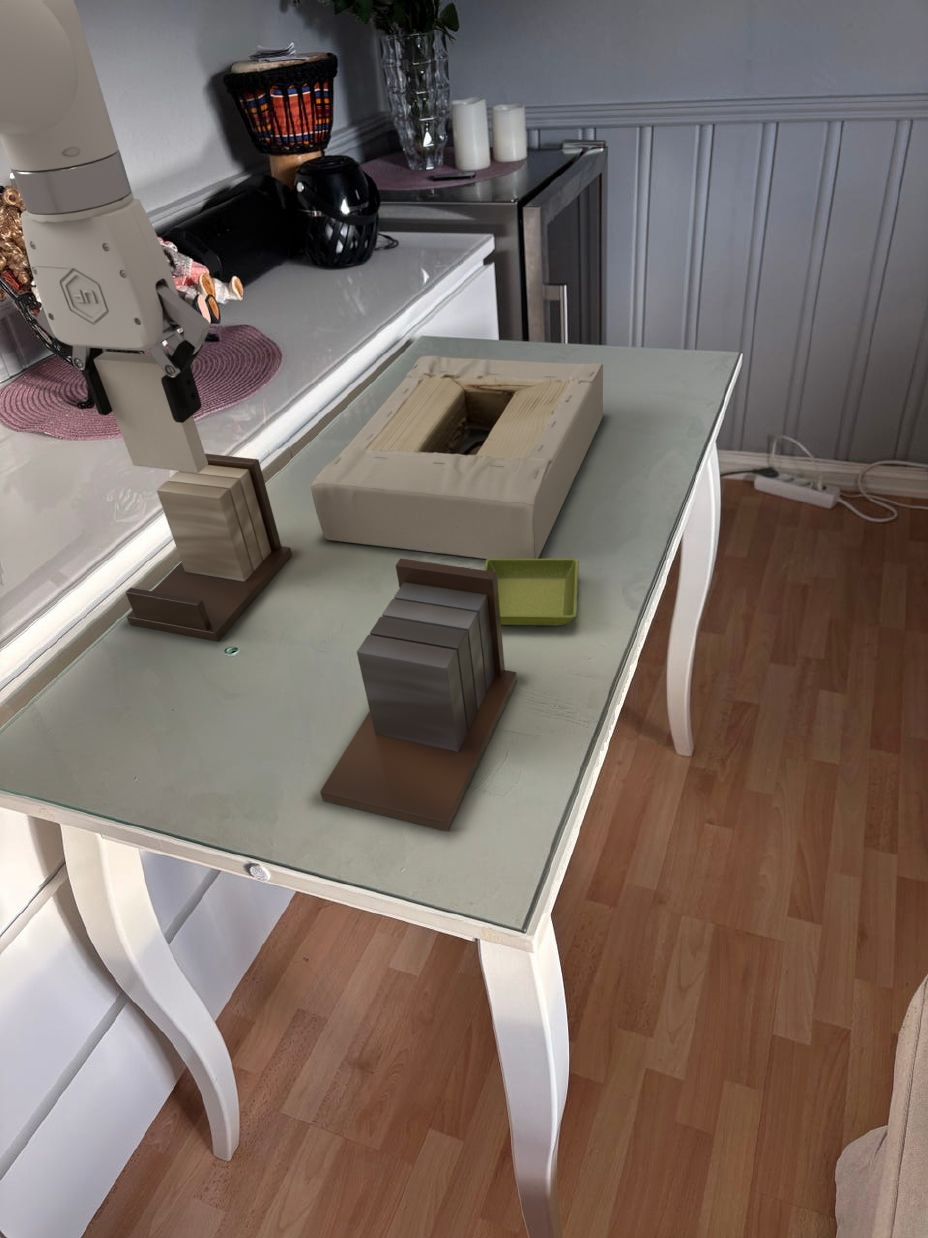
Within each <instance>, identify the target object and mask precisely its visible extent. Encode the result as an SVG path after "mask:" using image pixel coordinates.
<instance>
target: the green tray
mask: <svg viewBox="0 0 928 1238" xmlns="http://www.w3.org/2000/svg"><path fill="white" fill-rule="evenodd" d="M579 563H580V561H579V560H578V559H575V558H538V559H485V563H484V568H483V570H485V571H492V572H496V573H497V585H498V596H499V608H500V619H501V626H562V625H567V624H569V623H570V622H571V621H573V620H574V619H575V618H576V617H577V611H578V585H579V584H578V583H579Z"/></svg>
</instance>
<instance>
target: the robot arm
mask: <svg viewBox="0 0 928 1238" xmlns="http://www.w3.org/2000/svg"><path fill="white" fill-rule="evenodd" d="M114 131H115V130H114V128H113V124H112V121H111V117H110V115H109V111H108V108H107V105H106V101H105V98H104V94H103V91H102V88H101V84H100V81H99V78H98V75H97V72H96V68H95V65H94V61H93V58H92V55H91V52H90V48H89V45H88V41H87V38H86V35H85V31H84V29H83V25H82V21H81V18H80V14H79V12H78V8H77V6H76V3H75V0H0V143H1V145H2V148H3V152H4V154H5V157H6V160H7V162H8V164H9V167H10V170H11V172H10V174H9V179H10V183H11V185H12V186H13V188H15V189H16V190H18V193H19V194H20V197H21V201H22V203H23V205H24V208H25V210H24V211H23V212H21V214H20V220H21V229H22V236H23V239H24V241H23V242H24V246H25V249H26V253H27V259H28V262H29V265H30V270H31V273H32V274H31V275H32V277H33V280H34V283H35V286H36V290H37V294H38V296H39V299H40V303H41V305H42V307H41V308H40V310H39V311H38V313H37V315H36V318H35V319H36V322H37V324H38V325H39V326H40V327H41V328H42V329H43V330H45V332H46V333H47V334H49V336H51V337H52V339H55V342H56V345H57V346H58V347H59V348H60V349H61V350H62V351H64V353H66V354H67V355H68V356H69V357H70V358H71V360H72V364H73V365H72V366H74V367H75V369H77V370H78V371H82V373H83V376H84V378H85V382H86V384H87V386H88V389H89V392H90V395H91V397H92V400H93V402H94V405H95V408H96V410H97V413H98V415H100V416H108V415H109V414H111V413H113V410H112V407H111V405H110V402H109V400H108V397H107V394H106V392H105V389H104V386H103V384H102V381H101V378H100V376H99V373H98V370H97V368H96V366H95V363H94V359H95V358H96V357H98V356H99V355H101V354H102V353H104V352H107V350H120V351H135V352H139V351H148V353H149V354H150V355H152V356H153V357H154V359H155V360H156V361H157V363H158V364H159V365H160V367H161V368H162V369H163V371H164V372H165V373H166V375H165V376H164V377H162V378H161V382H162V385H163V388H164V392H165V395H166V398H167V401H168V404H169V407H170V410H171V413H172V416H173V419H174V420H175V422H179V423H183V422H185V421H186V420H187V419H188V418H190V417H191V416H192V415H193V416H194V415H195V414H196V413H197V412H199V410H200V409H201V408H202V401H201V396H200V393H199V390H198V386H197V382H196V380H195V376H194V373H193V369H192V365H194V364H195V362H196V360H197V357H198V355H199V353H200V352H201V350H202V348H203V343H204V342H205V340H206V338H207V336H208V334H209V331H210V330H211V323H210V321H209V320H208V319H207V318H206V317H205V316H203V315H202V314H201V313H200V312H199V311H197V310H196V309H195V308H194V307H192V306H191V305H190V304H189V303H187V301H185V300H184V299H182V297H180V296H179V292H178V289H177V285H176V281H175V280H174V277H173V274H172V271H171V267H170V265H169V263H168V259H167V257H166V255H165V252H164V250H163V246H162V245H161V242H160V239H159V237H158V235H157V233H156V230H155V229H154V228H155V227H154V226H153V224H152V221H151V220H150V218H149V216H148V214H147V211H146V209H145V208H144V206H143V204H142V202H141V200H140V199H139V198H135V197H134V194H133V191H132V188H131V184H130V182H129V177H128V174H127V171H126V168H125V164H124V161H123V158H122V154H121V151H120V148H119V145H118V142H117V138H116V135H115V132H114ZM180 329H182V331H183V335H181V334H180V332H179V331H178V330H180ZM164 342H166V343H167V345H168V346H169V348H170V349H171V350H172V351H173V353H172V354H171V353H170V352H169V350H168V349H167V347H166V346H165V345H164Z"/></svg>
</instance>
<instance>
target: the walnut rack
mask: <svg viewBox="0 0 928 1238" xmlns="http://www.w3.org/2000/svg"><path fill="white" fill-rule="evenodd" d="M395 570H396V577H397V582H398V587H399V588H398V590H397V591H396V593H395V594H394V596H393V598H392V599H391V600H390V602H389V603H388V604H387V606H386V607H385V609H384V610H383V612H382V614H381V616H379V617H378V620H377V621H376V623H375V624H374V625H373V627H372V629H371V630H370V632H369V634H367V636H366V637H365V639H364V640H363V642H362V643H361V644H360V646H359V648H358V649H357V651H356V656H357V660H358V664H359V669H360V673H361V678H362V682H363V686H364V692H365V696H366V701H367V705H368V710H369V711H368V713H367V715H366V716H365V718H364V720H363V721H362V722H361V724H360V726H359V728H358V729H357V731H356V732H355V734H354V736H353V737H352V739H351V740H350V742H349V744H348V745H347V747H346V748H345V750H344V752H343V753H342V755H341V757H340V758H339V760H338V762H337V763H336V765H335V766H334V768H333V770H332V771H331V773H330V774H329V776H328V778H327V780H326V781H325V782H324V784H323V786H322V788H321V789H320V791H319V793H320V796H321V801H325V802H328V803H333V804H337V805H340V806H345V807H348V808H352V809H357V810H361V811H365V812H369V813H373V814H378V815H380V816H386V817H390V818H394V819H398V820H401V821H406V822H409V823H414V824H418V825H422V826H426V827H429V828H433V829H438V830H441V831H446V832H448V831H449V829H450V827H451V825H452V822H453V820H454V818H455V816H456V814H457V811H458V810H459V807H460V805H461V803H462V801H463V799H464V797H465V794H466V792H467V790H468V788H469V785H470V783H471V781H472V780H473V777H474V775H475V773H476V770H477V769H478V766H479V764H480V762H481V759H482V757H483V755H484V753H485V751H486V749H487V747H488V745H489V743H490V741H491V738H492V736H493V734H494V731H495V729H496V727H497V725H498V723H499V721H500V719H501V716H502V714H503V712H504V710H505V708H506V706H507V703H508V701H509V700H510V697H511V695H512V693H513V690H514V688H515V686H516V685H517V682H518V676H517V674H518V673H517V672H516V671H512V670H508V669H506V666H505V655H504V645H503V633H502V632H503V631H502V625H501V619H500V608H499V596H498V585H497V573H496V572H492V571H485V570H484V569H479V568H478V569H477V568H470V567H464V566H457V565H450V564H442V563H437V562H429V561H421V560H414V559H407V558H399V560H398V561H397V562H396V564H395Z"/></svg>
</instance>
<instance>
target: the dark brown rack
mask: <svg viewBox="0 0 928 1238" xmlns="http://www.w3.org/2000/svg"><path fill="white" fill-rule="evenodd" d="M205 455H206V459H207V462H208V465H207V466H206V467H205V468H203V469H202V470H201V471H200V472H199V473H194V472H185V471H176V472H175V473H174V474H173V475H171V477H169V478H168V479H167V481H164V482H163V483H162V484H161V485H160V486H159V487H158V488H156V489H155V490H156V494H157V495H158V499H159V501H160V505H161V507H162V511H163V513H164V516H165V519H166V522H167V524H168V527H169V531H170V534H171V536H172V538H173V541H174V544H175V547H176V550H177V553H178V556H179V559H180V562H179V563H178V564H177V565H176V566H175V567H174V568H173V569H172V570H171V571H170V572H169V573H168V575H166V576H165V577H164V578H163V579H162V580H161V581H160V583H158V585H156V586H155V587H154V588H153V590H148V589H143V588H135V587H129V588H128V589H127V590H125V595H126V598H127V600H128V603H129V605H130V607H131V611H130V612H129V613H128V615H126V620H127V622H128V624H129V625H130V626H133V627H134V626H135V627H140V628H146V629H150V630H157V631H161V632H167V633H171V634H177V635H182V636H186V637H187V636H189V637H193V638H198V639H204V640H208V641H214V642H220V641H221V639H222V638H223V637H224V635H225V634H226V633H228V631H229V630H230V629H231V627H232V626H233V625H234V624H235V623H236V622H237V620H238V619H239V618H240V617H241V616H242V615H243V613H244V612H246V610H247V609H248V607H249V606H250V605H251V604H252V603H253V602H254V601H255V600H256V598H257V597H258V596H259V595H260V593H261V592H262V591H264V589H265V588H266V586H267V585H268V584H269V583H270V582H271V581H272V579H273V578H274V577H275V576H276V575H277V574H278V572H280V570H281V569H282V568H283V567H284V565H285V564H286V563H287V562H288V560H290V558H291V557H292V556H293V553H292V549H291V547H290V546H284V545H282V543H281V539H280V535H279V532H278V528H277V523H276V521H275V517H274V513H273V509H272V505H271V501H270V497H269V494H268V490H267V486H266V482H265V479H264V474H263V471H262V467H261V462H260V460H259V459H258V458H251V457H241V456H231V455H224V454H223V455H222V454H214V453H213V454H211V453H205Z"/></svg>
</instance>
